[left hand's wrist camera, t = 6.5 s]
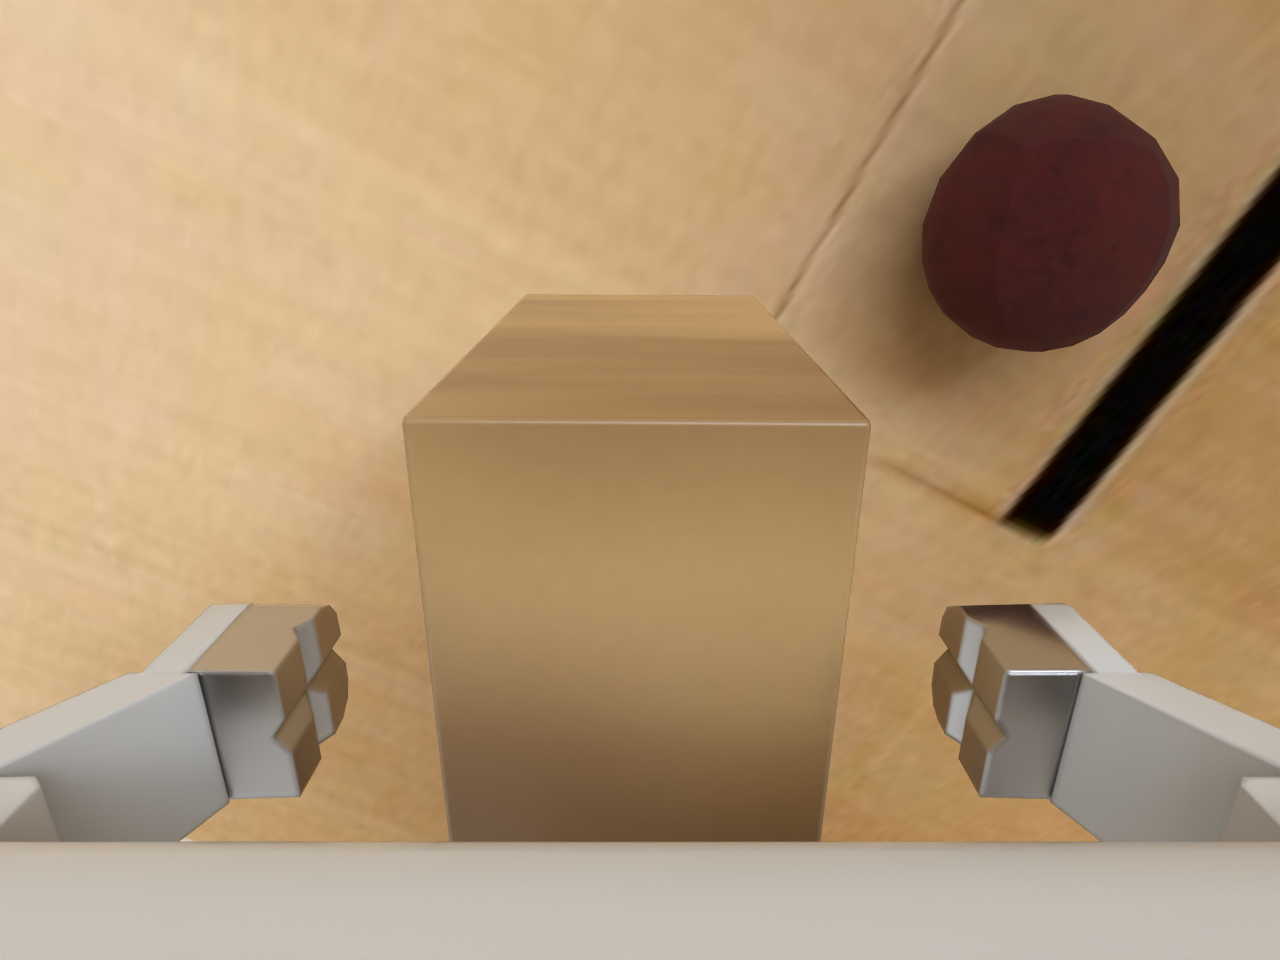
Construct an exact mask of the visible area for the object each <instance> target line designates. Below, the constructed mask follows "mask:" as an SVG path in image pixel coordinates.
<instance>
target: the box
mask: <svg viewBox="0 0 1280 960" xmlns="http://www.w3.org/2000/svg"><path fill="white" fill-rule="evenodd" d="M402 424H403V433H404V442H405V450H406V459H407V468H408V477H409V486H410V495H411V504H412V512H413V521H414V530H415V539H416V548H417V557H418V565H419V574H420V583H421V592H422V601H423V610H424V618H425V627H426V636H427V645H428V654H429V663H430V672H431V680H432V689H433V698H434V707H435V716H436V725H437V733H438V742H439V751H440V760H441V769H442V778H443V786H444V795H445V804H446V813H447V822H448V831H449V840H450V842H820V839H821V831H822V823H823V815H824V806H825V798H826V790H827V782H828V774H829V765H830V757H831V749H832V741H833V732H834V724H835V716H836V708H837V700H838V691H839V683H840V675H841V667H842V658H843V650H844V642H845V634H846V625H847V617H848V609H849V601H850V593H851V584H852V576H853V568H854V560H855V551H856V543H857V535H858V527H859V519H860V510H861V502H862V494H863V486H864V477H865V469H866V461H867V453H868V445H869V436H870V428H871V425H870V422H869V420H868V419H867V418H866V417H865V416H864V414H863V413H862V412H861V411H860V410H859V409H858V408H857V407H856V406H855V405H854V404H853V403H852V402H851V400H850V399H849V398H848V397H847V396H846V395H845V394H844V393H843V392H842V391H841V390H840V389H839V388H838V386H837V385H836V384H835V383H834V382H833V381H832V380H831V379H830V378H829V377H828V376H827V375H826V374H825V372H824V371H823V370H822V369H821V368H820V367H819V366H818V365H817V364H816V363H815V362H814V361H813V360H812V359H811V357H810V356H809V355H808V354H807V353H806V352H805V351H804V350H803V349H802V348H801V347H800V346H799V345H798V343H797V342H796V341H795V340H794V339H793V338H792V337H791V336H790V335H789V334H788V333H787V332H786V331H785V329H784V328H783V327H782V326H781V325H780V324H779V323H778V322H777V321H776V320H775V319H774V318H773V317H772V315H771V314H770V313H769V312H768V311H767V310H766V309H765V308H764V307H763V306H762V305H761V304H760V303H759V301H758V300H757V299H756V298H755V297H753V296H700V295H541V294H528V295H526V296H525V297H524V298H523V299H522V300H521V301H520V302H519V303H518V304H517V305H516V306H515V307H514V308H513V309H512V310H511V311H510V312H509V313H508V314H507V315H506V316H505V317H504V318H503V319H502V320H501V321H500V322H499V323H498V324H497V325H496V326H495V327H494V328H493V329H492V330H491V331H490V332H489V333H488V334H487V335H486V336H485V337H484V338H483V339H482V340H481V341H480V342H479V343H478V344H477V345H476V346H475V347H474V348H473V349H472V350H471V351H470V352H469V353H468V354H467V355H466V356H465V357H464V358H463V359H462V360H461V361H460V362H459V363H458V364H457V365H456V366H455V367H454V368H453V369H452V370H451V371H450V372H449V373H448V374H447V375H446V376H445V377H444V378H443V379H442V380H441V381H440V382H439V383H438V384H437V385H436V386H435V387H434V388H433V389H432V390H431V391H430V392H429V393H428V394H427V395H426V396H425V397H424V398H423V399H422V400H421V401H420V402H419V403H418V404H417V405H416V406H415V407H414V408H413V409H412V410H411V411H410V412H409V413H408V414H407V415H406V416H405V417H404V419H403V422H402Z"/></svg>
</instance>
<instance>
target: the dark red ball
mask: <svg viewBox="0 0 1280 960" xmlns="http://www.w3.org/2000/svg"><path fill="white" fill-rule="evenodd" d="M1179 227H1180V207H1179V178H1178V176H1177V175H1176V173H1175V171H1174V170H1173V168H1172V166H1171V165H1170V163H1169V161H1168V159H1167V158H1166V156H1165V154H1164V153H1163V151H1162V149H1161V148H1160V146H1159V144H1158V142H1157V141H1156V139H1155V138H1154V137H1152V136H1151V135H1150V134H1148V133H1147V132H1146V131H1144V130H1143V129H1142V128H1140V127H1139V126H1137V125H1136V124H1135V123H1133V122H1132V121H1131V120H1129V119H1128V118H1126V117H1125V116H1124V115H1122V114H1121V113H1119V112H1118V111H1117V110H1115V109H1114V108H1113V107H1111V106H1110V105H1107V104H1103V103H1099V102H1095V101H1091V100H1087V99H1083V98H1080V97H1076V96H1072V95H1052V96H1048V97H1044V98H1040V99H1037V100H1033V101H1029V102H1025V103H1021V104H1018V105H1014V106H1013V107H1011V108H1010V109H1009V110H1007V111H1006V112H1004V113H1003V114H1002V115H1000V116H999V117H997V118H996V119H995V120H993V121H992V122H990V123H989V124H988V125H986V126H985V127H984V128H982V129H981V130H979V131H978V132H977V133H975V134H974V135H973V137H972V138H971V139H970V140H969V142H968V143H967V144H966V146H965V147H964V148H963V150H962V151H961V152H960V153H959V155H958V156H957V157H956V159H955V160H954V161H953V162H952V164H951V165H950V166H949V168H948V169H947V170H946V171H945V173H944V174H943V175H942V177H941V178H940V180H939V183H938V185H937V188H936V191H935V193H934V196H933V199H932V201H931V204H930V207H929V209H928V212H927V215H926V218H925V220H924V223H923V253H922V262H923V266H924V270H925V274H926V278H927V282H928V286H929V290H930V291H931V293H932V295H933V297H934V298H935V300H936V302H937V303H938V305H939V307H940V308H941V310H942V312H943V313H944V314H945V315H946V316H948V317H949V318H950V319H951V320H952V321H953V322H955V323H956V324H957V325H958V326H959V327H961V328H962V329H963V330H964V331H965V332H967V333H968V334H969V335H970V336H972V337H974V338H976V339H978V340H981V341H983V342H986V343H988V344H990V345H993V346H995V347H997V348H1005V349H1013V350H1020V351H1034V352H1043V351H1048V350H1053V349H1058V348H1063V347H1069V346H1073V345H1075V344H1077V343H1080V342H1082V341H1084V340H1086V339H1088V338H1090V337H1092V336H1095V335H1097V334H1099V333H1100V332H1102V331H1103V330H1104V329H1106V328H1107V327H1108V326H1110V325H1111V324H1112V323H1113V322H1115V321H1116V320H1117V319H1119V318H1120V317H1121V316H1123V315H1124V314H1125V313H1126V312H1127V311H1128V309H1129V308H1130V307H1131V306H1132V305H1133V304H1134V303H1135V302H1136V301H1137V299H1138V298H1139V297H1140V296H1141V295H1142V294H1143V293H1144V292H1145V291H1146V289H1147V288H1148V286H1149V285H1150V283H1151V282H1152V280H1153V279H1154V277H1155V276H1156V274H1157V273H1158V272H1159V270H1160V269H1161V267H1162V266H1163V264H1164V263H1165V261H1166V258H1167V256H1168V253H1169V251H1170V249H1171V246H1172V244H1173V241H1174V239H1175V236H1176V234H1177V232H1178V229H1179Z"/></svg>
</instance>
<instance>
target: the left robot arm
mask: <svg viewBox="0 0 1280 960" xmlns="http://www.w3.org/2000/svg"><path fill="white" fill-rule="evenodd" d="M340 635H341V633H340V628H339V623H338V618H337V614H336V612H335V611H334V610H333V609H332V607H331V606H330V605H287V604H255V605H254V604H252V603H240V604H217V605H210V606H209V607H208V608H207V609H206V610H205V611H204V612H203V613H202V614H201V615H200V616H199V617H198V618H197V619H196V620H195V621H194V622H193V623H192V624H190V625H189V626H188V627H187V628H186V629H185V630H184V631H183V632H182V633H181V634H180V635H179V636H178V637H177V638H176V639H175V640H174V641H173V642H172V643H171V644H170V645H169V646H168V647H167V648H166V649H165V650H164V651H163V652H162V653H161V654H160V655H159V656H158V657H157V658H156V659H155V660H154V661H153V662H152V663H151V664H150V665H149V666H148V667H147V668H146V669H145V670H144V671H142V672H141V673H127V674H125V675H123V676H120V677H118V678H116V679H113V680H111V681H109V682H106V683H104V684H102V685H100V686H97V687H95V688H93V689H90V690H88V691H86V692H83V693H81V694H79V695H76V696H74V697H72V698H70V699H67V700H65V701H63V702H60V703H58V704H56V705H53V706H51V707H49V708H46V709H44V710H42V711H40V712H37V713H35V714H33V715H30V716H28V717H26V718H23V719H21V720H19V721H16V722H14V723H12V724H10V725H7V726H5V727H3V728H0V960H1280V729H1279V728H1277V727H1275V726H1272V725H1270V724H1268V723H1266V722H1263V721H1261V720H1259V719H1256V718H1254V717H1252V716H1249V715H1247V714H1245V713H1243V712H1240V711H1238V710H1236V709H1233V708H1231V707H1229V706H1226V705H1224V704H1222V703H1220V702H1217V701H1215V700H1213V699H1210V698H1208V697H1206V696H1203V695H1201V694H1199V693H1197V692H1194V691H1192V690H1190V689H1187V688H1185V687H1183V686H1180V685H1178V684H1176V683H1174V682H1171V681H1169V680H1167V679H1164V678H1162V677H1160V676H1157V675H1155V674H1153V673H1139V672H1138V671H1137V670H1136V669H1134V668H1133V667H1132V666H1131V665H1130V664H1129V663H1128V662H1127V661H1126V660H1125V659H1124V658H1123V657H1122V656H1121V655H1120V654H1119V653H1118V652H1117V651H1116V650H1115V649H1114V648H1113V647H1112V646H1111V645H1110V644H1109V643H1108V642H1107V641H1106V640H1105V639H1104V638H1103V637H1102V636H1101V635H1100V634H1099V633H1098V632H1097V631H1096V630H1095V629H1094V628H1093V627H1092V626H1091V625H1090V624H1089V623H1088V622H1087V621H1086V620H1085V619H1084V618H1083V617H1082V616H1081V615H1080V614H1079V613H1077V612H1076V611H1075V610H1074V609H1073V608H1072V607H1071V606H1068V605H1066V604H1063V603H1049V604H1017V605H976V606H951V607H947V609H946V611H945V613H944V615H943V617H942V622H941V627H940V633H939V635H940V636H941V638H942V640H943V641H944V643H945V644H946V646H947V647H948V650H947V651H946V652H945V653H944V654H943V655H942V656H941V657H940V658H939V659H938V660H937V661H936V662H935V663H934V670H933V678H932V695H933V705H934V709H935V712H936V715H937V719H938V721H939V723H940V725H941V727H942V729H943V731H944V733H945V734H946V735H948V736H949V737H951V738H952V739H954V740H955V741H957V742H958V743H960V744H961V748H960V753H959V760H960V762H961V764H962V765H963V767H964V769H965V771H966V773H967V774H968V776H969V778H970V780H971V781H972V783H973V785H974V787H975V789H976V790H977V792H978V794H979V796H980V797H994V798H1031V799H1051V801H1050V802H1051V803H1052V804H1053V805H1055V806H1056V807H1057V808H1058V809H1060V810H1061V811H1062V812H1064V813H1065V814H1066V815H1068V816H1069V817H1070V818H1071V819H1073V820H1074V821H1075V822H1077V823H1078V824H1079V825H1080V826H1082V827H1083V828H1084V829H1086V830H1087V831H1088V832H1089V833H1091V834H1092V835H1093V836H1095V837H1096V838H1097V839H1098V840H1100V841H1101V842H179V841H180V840H182V839H183V838H184V837H186V836H187V835H188V834H189V833H191V832H192V831H193V830H195V829H196V828H197V827H199V826H200V825H201V824H202V823H204V822H205V821H206V820H208V819H209V818H210V817H211V816H213V815H214V814H215V813H217V812H218V811H219V810H221V809H222V808H223V807H224V806H226V805H227V804H228V803H229V799H248V798H284V797H300V796H301V794H302V792H303V791H304V789H305V787H306V785H307V783H308V782H309V780H310V778H311V776H312V774H313V773H314V771H315V769H316V767H317V765H318V764H319V762H320V760H321V753H320V748H319V744H320V743H322V742H323V741H325V740H326V739H328V738H329V737H331V736H332V735H334V734H335V733H336V731H337V729H338V727H339V725H340V723H341V721H342V719H343V716H344V711H345V707H346V703H347V698H348V676H347V669H346V663H345V662H344V661H343V660H342V659H341V658H340V657H339V656H338V655H337V654H336V653H335V652H334V651H333V650H332V647H333V646H334V644H335V643H336V641H337V640H338V638H339V636H340Z"/></svg>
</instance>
